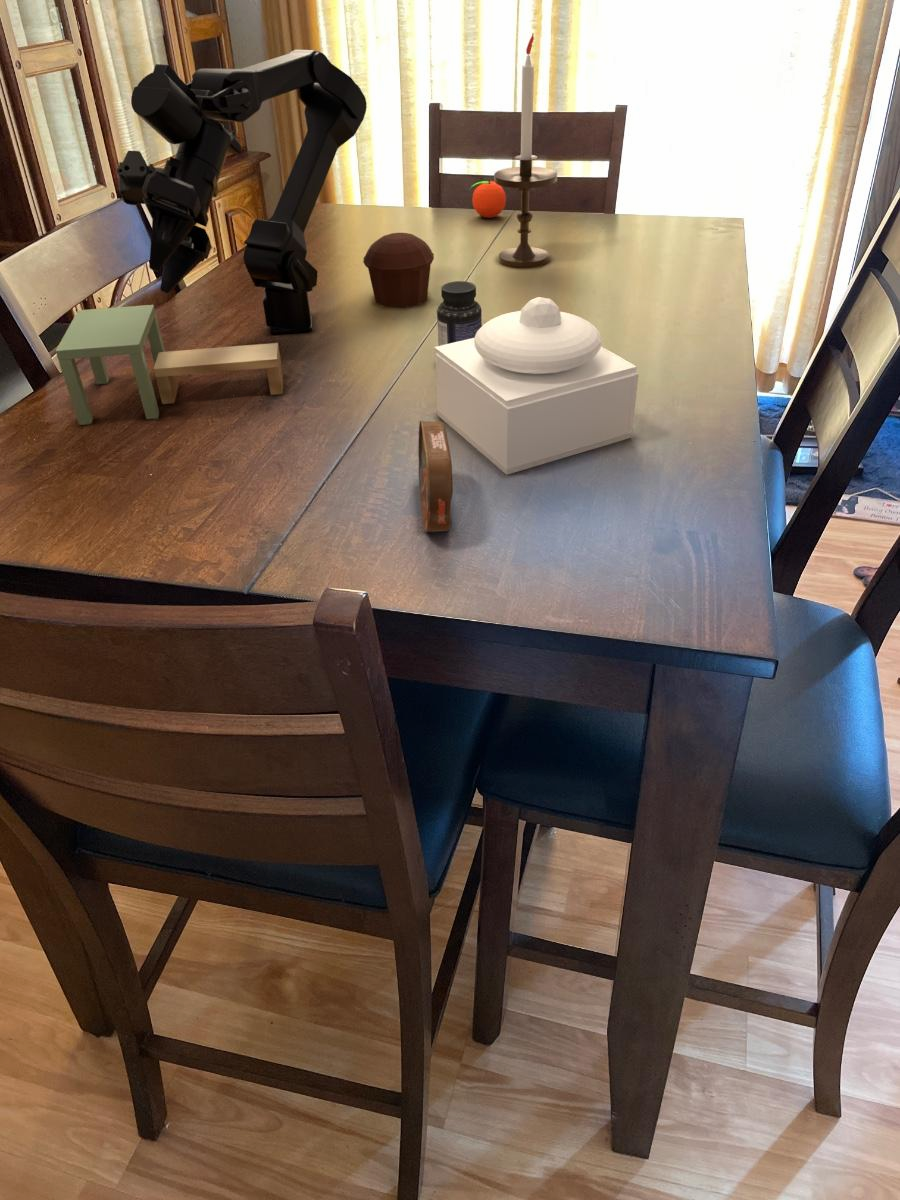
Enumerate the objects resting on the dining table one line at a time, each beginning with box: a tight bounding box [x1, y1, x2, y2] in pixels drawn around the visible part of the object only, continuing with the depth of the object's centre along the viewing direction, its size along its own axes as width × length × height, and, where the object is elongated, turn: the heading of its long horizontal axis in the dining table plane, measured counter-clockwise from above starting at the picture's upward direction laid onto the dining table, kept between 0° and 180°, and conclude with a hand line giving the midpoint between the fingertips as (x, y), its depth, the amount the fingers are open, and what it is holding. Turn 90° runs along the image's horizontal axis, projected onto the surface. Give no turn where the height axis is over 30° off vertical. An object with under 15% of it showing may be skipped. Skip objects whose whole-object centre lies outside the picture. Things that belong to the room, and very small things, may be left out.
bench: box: [153, 342, 284, 405], centre depth 119 cm, size 16×6×5 cm, turn 98°
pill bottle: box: [436, 280, 483, 346], centre depth 121 cm, size 6×6×11 cm
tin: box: [418, 420, 454, 533], centre depth 92 cm, size 15×3×8 cm, turn 5°
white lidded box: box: [433, 296, 640, 476], centre depth 105 cm, size 18×18×16 cm
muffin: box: [362, 232, 435, 309], centre depth 143 cm, size 12×11×10 cm
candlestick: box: [493, 32, 558, 269], centre depth 150 cm, size 11×11×35 cm
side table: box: [55, 304, 166, 426], centre depth 116 cm, size 10×14×10 cm
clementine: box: [467, 179, 507, 219], centre depth 181 cm, size 8×7×7 cm
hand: (159, 281), depth 113 cm, fingers open, 9 cm apart
